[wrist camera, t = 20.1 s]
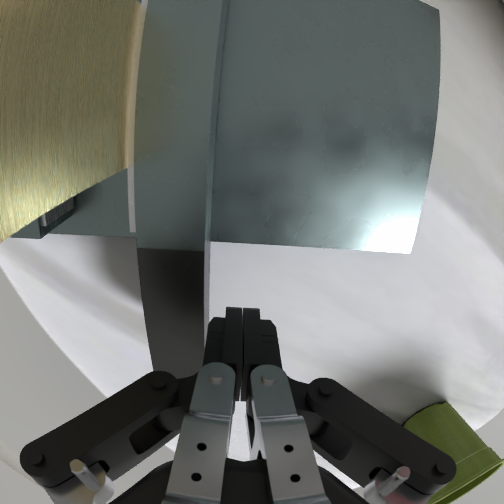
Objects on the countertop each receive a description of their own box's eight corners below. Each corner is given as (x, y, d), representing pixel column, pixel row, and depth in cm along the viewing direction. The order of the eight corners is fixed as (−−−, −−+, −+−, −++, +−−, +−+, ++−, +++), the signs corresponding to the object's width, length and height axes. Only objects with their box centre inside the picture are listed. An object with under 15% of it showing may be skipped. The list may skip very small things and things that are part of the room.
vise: (424, 15, 10) (473, -2, 6) (397, 242, 16) (438, 280, 12) (40, 1, 9) (-4, -17, 5) (30, 223, 14) (-14, 254, 10)
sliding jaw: (233, -31, 8) (232, -65, 6) (208, 343, 16) (205, 383, 13) (169, -30, 8) (154, -60, 5) (160, 339, 16) (149, 377, 13)
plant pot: (411, 448, 29) (436, 512, 19) (357, 444, 26) (382, 528, 16) (478, 393, 25) (516, 457, 15) (440, 376, 22) (490, 466, 12)
